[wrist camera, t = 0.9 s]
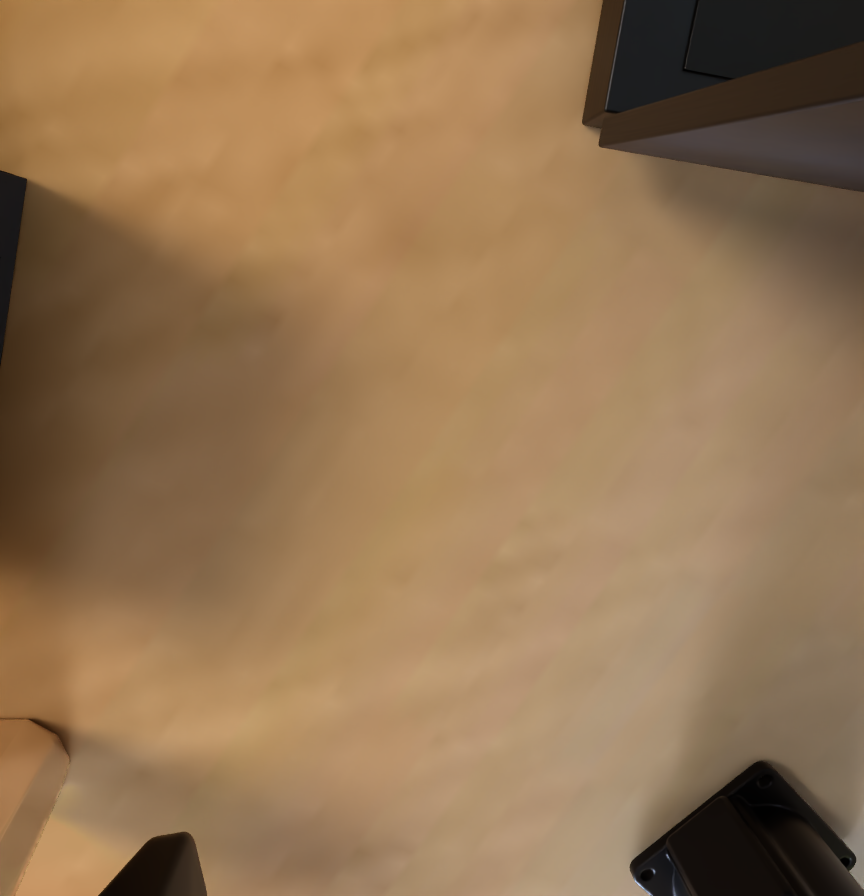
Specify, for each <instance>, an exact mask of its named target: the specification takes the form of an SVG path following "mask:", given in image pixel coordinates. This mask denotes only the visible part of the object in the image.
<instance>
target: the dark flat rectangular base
mask: <svg viewBox="0 0 864 896" xmlns="http://www.w3.org/2000/svg"><path fill="white" fill-rule="evenodd" d="M860 41H864V0H603V5H602V10H601V16H600V22H599V27H598V33H597V39H596V45H595V50H594V56H593V62H592V67H591V73H590V79H589V85H588V90H587V96H586V102H585V108H584V113H583V119H582V124H583V125H587V126H593V127H598V128H602V125H603V120H604V118H605V117H607V116H610V115H613V114H617V113H620V112H624V111H627V110H630V109H634V108H637V107H641V106H644V105H647V104H651V103H654V102H657V101H661V100H664V99H668V98H671V97H674V96H678V95H681V94H685V93H688V92H691V91H695V90H698V89H701V88H705V87H708V86H712V85H715V84H718V83H722V82H725V81H729V80H732V79H735V78H739V77H742V76H745V75H749V74H752V73H756V72H759V71H762V70H766V69H769V68H772V67H776V66H779V65H783V64H786V63H789V62H793V61H796V60H800V59H803V58H806V57H810V56H813V55H816V54H820V53H823V52H827V51H830V50H833V49H837V48H840V47H844V46H847V45H850V44H854V43H857V42H860Z"/></svg>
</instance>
